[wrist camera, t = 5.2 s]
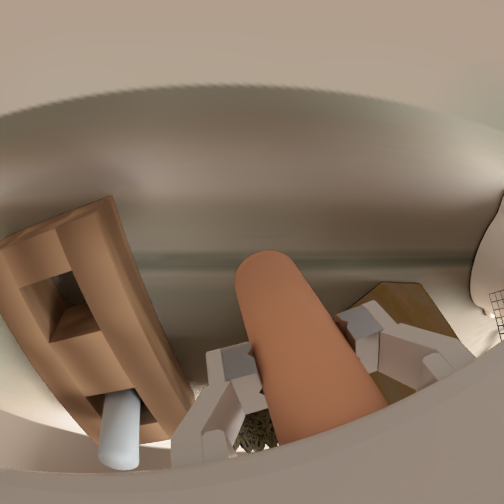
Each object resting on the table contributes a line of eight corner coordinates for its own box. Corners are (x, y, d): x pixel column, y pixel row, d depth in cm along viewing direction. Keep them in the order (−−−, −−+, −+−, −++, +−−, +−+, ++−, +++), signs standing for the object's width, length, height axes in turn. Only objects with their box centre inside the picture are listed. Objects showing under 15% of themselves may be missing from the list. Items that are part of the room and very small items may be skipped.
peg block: (112, 195, 21) (94, 213, 16) (194, 394, 29) (199, 433, 24) (5, 237, 19) (-25, 261, 15) (105, 411, 28) (101, 449, 23)
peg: (291, 242, 14) (422, 417, 5) (301, 297, 16) (402, 471, 6) (226, 260, 14) (285, 472, 5) (242, 315, 15) (300, 510, 6)
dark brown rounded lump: (220, 327, 26) (237, 395, 19) (297, 336, 29) (332, 396, 21) (201, 388, 29) (212, 454, 21) (271, 393, 31) (294, 453, 24)
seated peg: (134, 355, 26) (126, 447, 17) (147, 378, 27) (146, 467, 18) (105, 361, 25) (89, 451, 16) (119, 384, 27) (110, 471, 18)
